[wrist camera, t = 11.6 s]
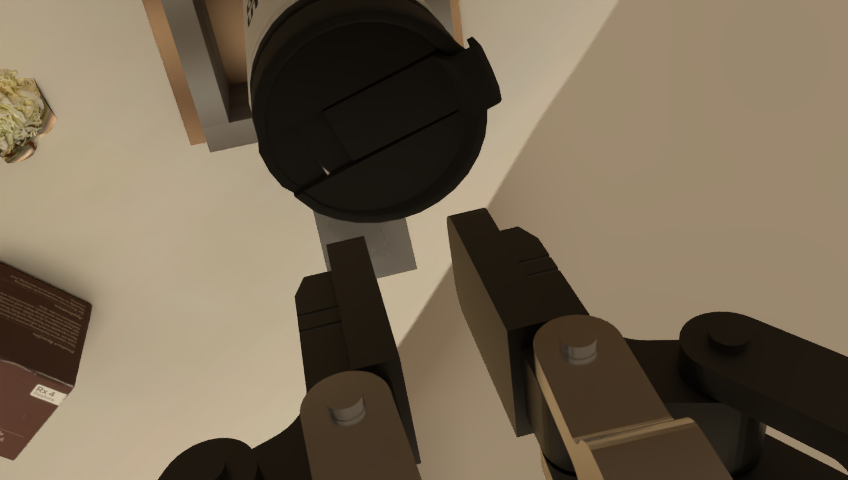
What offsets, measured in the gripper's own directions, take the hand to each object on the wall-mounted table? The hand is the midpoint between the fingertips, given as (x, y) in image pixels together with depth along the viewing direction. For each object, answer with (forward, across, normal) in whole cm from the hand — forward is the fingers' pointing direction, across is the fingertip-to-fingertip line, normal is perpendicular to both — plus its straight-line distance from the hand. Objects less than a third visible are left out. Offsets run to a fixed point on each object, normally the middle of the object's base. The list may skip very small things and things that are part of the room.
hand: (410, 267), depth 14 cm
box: (+27, +20, +16) cm, 37 cm away
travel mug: (+26, 0, 0) cm, 26 cm away
